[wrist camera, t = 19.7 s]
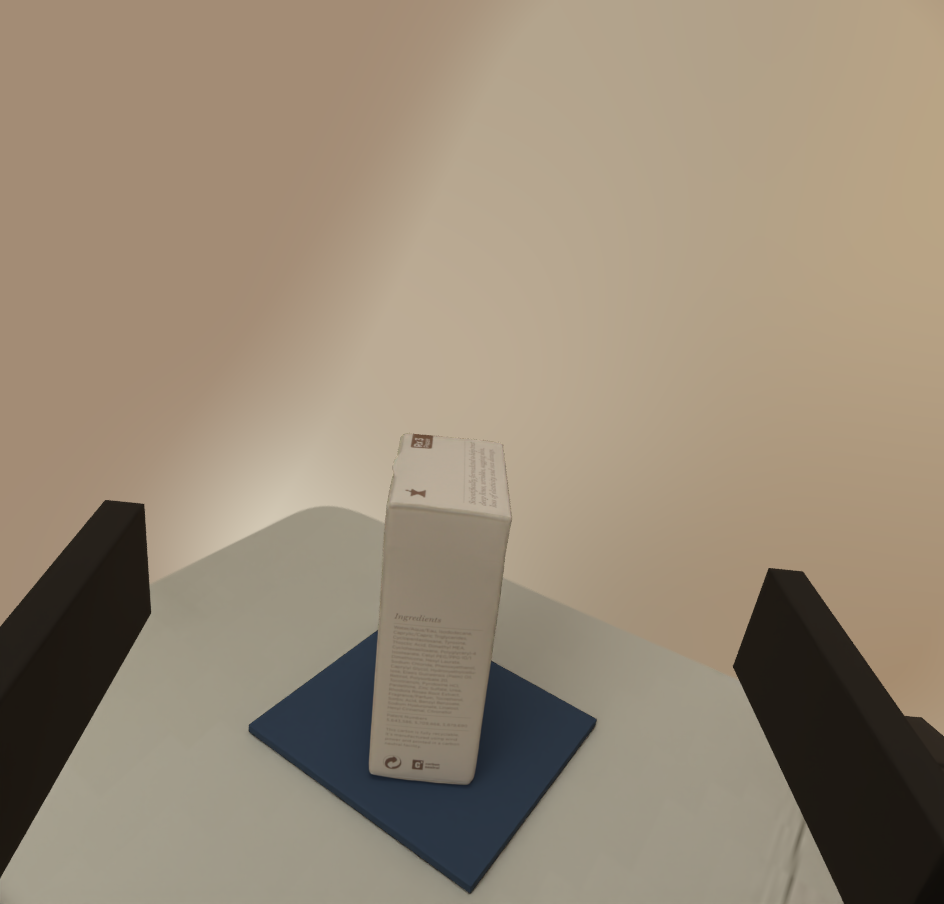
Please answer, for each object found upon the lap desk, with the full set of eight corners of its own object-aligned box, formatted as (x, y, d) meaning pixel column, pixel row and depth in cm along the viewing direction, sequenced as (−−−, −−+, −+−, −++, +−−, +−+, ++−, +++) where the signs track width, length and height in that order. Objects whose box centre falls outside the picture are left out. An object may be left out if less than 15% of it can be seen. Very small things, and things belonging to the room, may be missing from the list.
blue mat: (248, 731, 31) (248, 724, 31) (401, 617, 39) (402, 611, 39) (470, 894, 26) (471, 886, 26) (595, 725, 34) (597, 719, 34)
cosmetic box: (476, 789, 30) (525, 521, 24) (360, 779, 29) (384, 505, 24) (475, 677, 35) (514, 439, 30) (377, 668, 35) (400, 426, 30)
